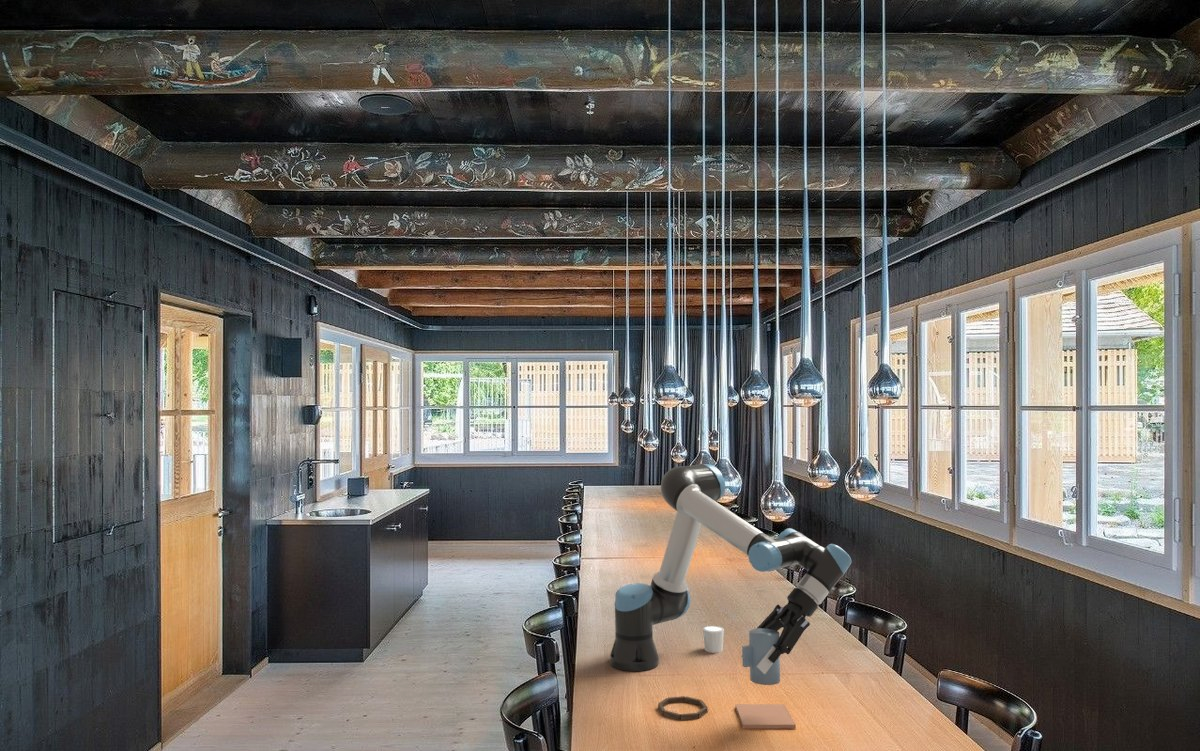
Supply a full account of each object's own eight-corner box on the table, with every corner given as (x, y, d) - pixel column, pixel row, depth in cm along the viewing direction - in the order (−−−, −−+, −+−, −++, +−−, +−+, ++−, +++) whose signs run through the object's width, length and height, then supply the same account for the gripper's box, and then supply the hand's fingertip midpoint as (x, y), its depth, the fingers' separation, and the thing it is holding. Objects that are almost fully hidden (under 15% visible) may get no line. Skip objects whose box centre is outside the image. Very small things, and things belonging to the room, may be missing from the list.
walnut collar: (673, 697, 214) (673, 693, 214) (713, 707, 207) (713, 702, 207) (651, 712, 204) (651, 708, 204) (692, 723, 197) (692, 718, 197)
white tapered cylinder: (710, 645, 260) (709, 624, 260) (728, 649, 255) (727, 627, 255) (699, 650, 254) (698, 629, 254) (717, 654, 250) (717, 632, 250)
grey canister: (771, 673, 205) (770, 627, 205) (785, 683, 198) (784, 635, 198) (737, 677, 202) (736, 630, 203) (751, 687, 195) (750, 639, 195)
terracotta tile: (735, 707, 207) (735, 704, 207) (784, 707, 207) (784, 704, 207) (743, 728, 194) (743, 724, 194) (795, 728, 194) (795, 724, 194)
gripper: (838, 615, 196) (782, 688, 190) (795, 596, 215) (743, 661, 210) (819, 596, 194) (762, 668, 189) (778, 578, 214) (725, 643, 209)
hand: (752, 665), depth 200 cm, fingers closed on grey canister, 8 cm apart
